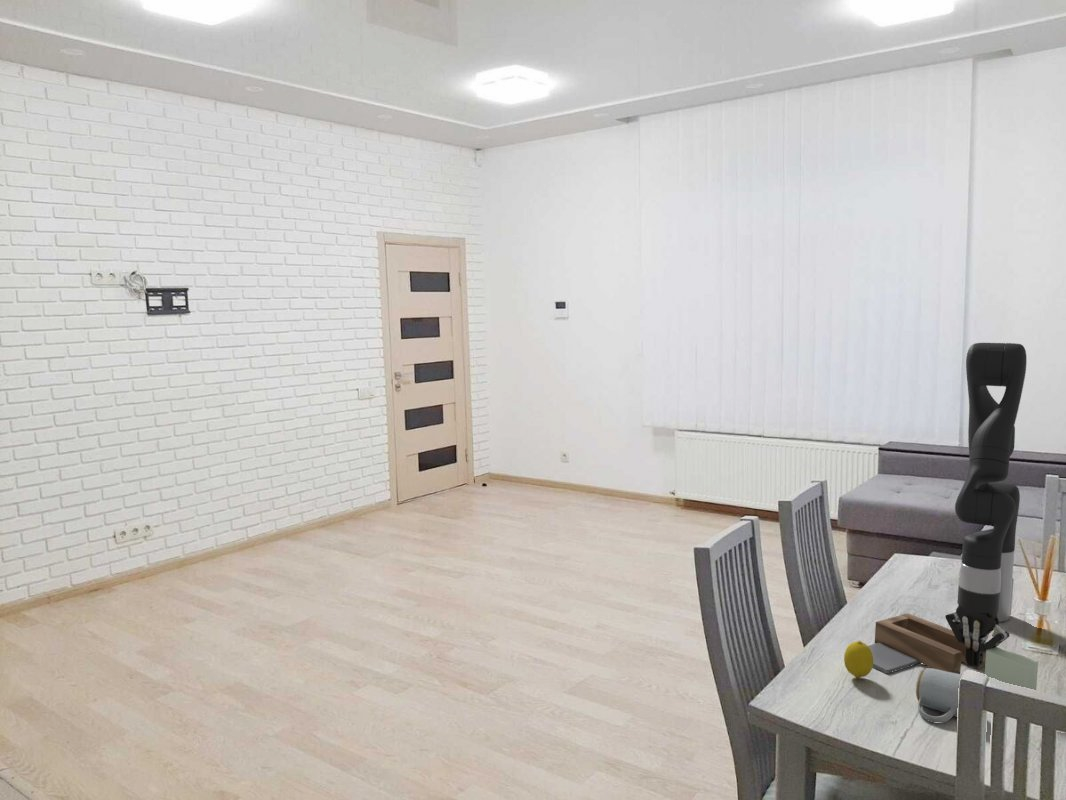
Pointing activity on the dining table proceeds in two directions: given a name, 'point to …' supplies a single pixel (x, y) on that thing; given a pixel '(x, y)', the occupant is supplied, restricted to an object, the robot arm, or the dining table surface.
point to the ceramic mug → (938, 693)
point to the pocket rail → (923, 642)
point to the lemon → (858, 659)
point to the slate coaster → (889, 658)
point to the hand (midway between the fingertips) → (973, 666)
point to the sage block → (1011, 667)
